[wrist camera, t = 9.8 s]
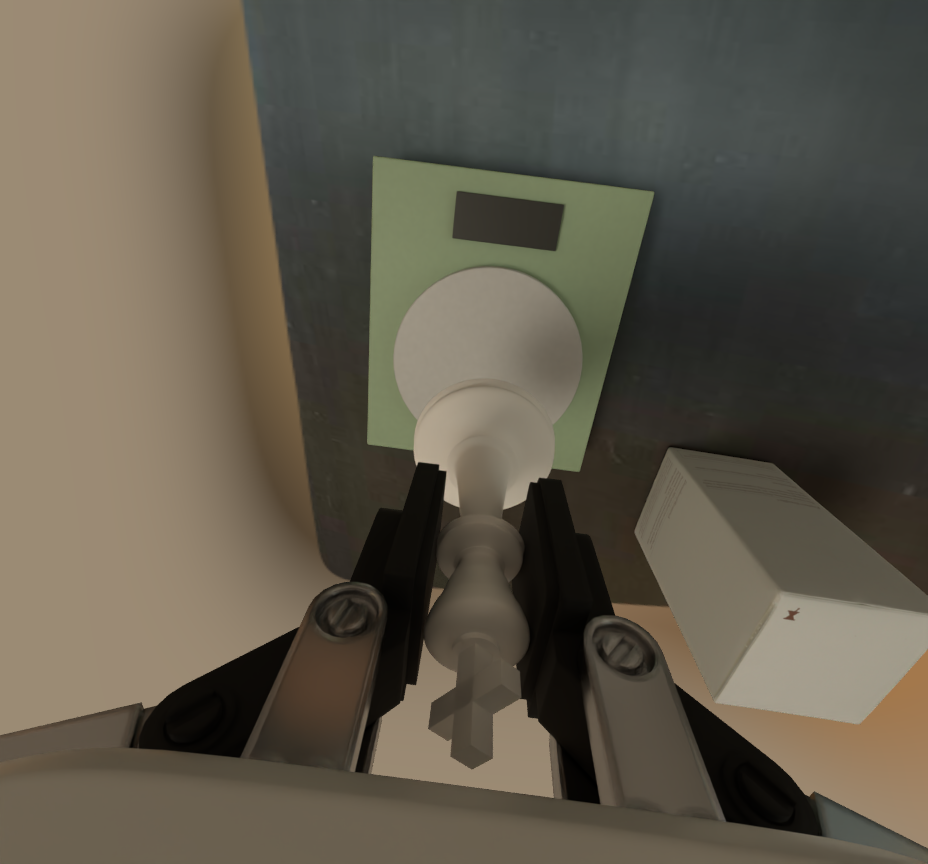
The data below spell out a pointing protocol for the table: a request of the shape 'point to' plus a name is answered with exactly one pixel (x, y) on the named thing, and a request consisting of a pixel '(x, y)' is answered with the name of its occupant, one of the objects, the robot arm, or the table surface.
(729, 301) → the table surface
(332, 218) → the table surface
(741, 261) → the table surface
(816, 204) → the table surface
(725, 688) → the white packaging box
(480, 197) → the scale
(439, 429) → the chess piece
